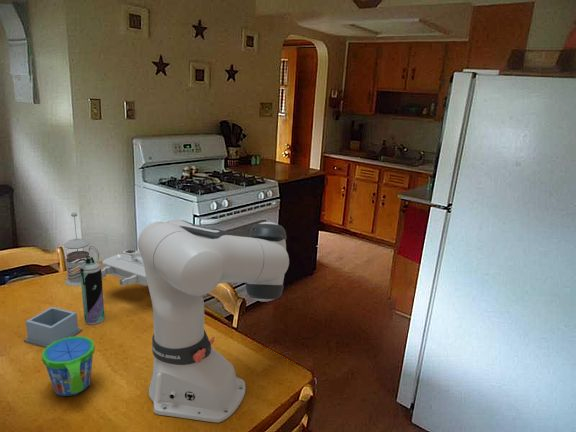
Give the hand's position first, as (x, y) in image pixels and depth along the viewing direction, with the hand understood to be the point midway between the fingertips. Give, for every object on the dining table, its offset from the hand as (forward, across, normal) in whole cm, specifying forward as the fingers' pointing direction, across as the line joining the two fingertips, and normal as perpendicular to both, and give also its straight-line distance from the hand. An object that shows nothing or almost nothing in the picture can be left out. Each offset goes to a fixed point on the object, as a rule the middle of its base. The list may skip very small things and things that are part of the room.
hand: (110, 279), depth 127 cm
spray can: (+7, 0, -11) cm, 13 cm away
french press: (-9, +26, -11) cm, 29 cm away
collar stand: (+18, +2, -11) cm, 21 cm away
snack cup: (+29, -20, -11) cm, 37 cm away
